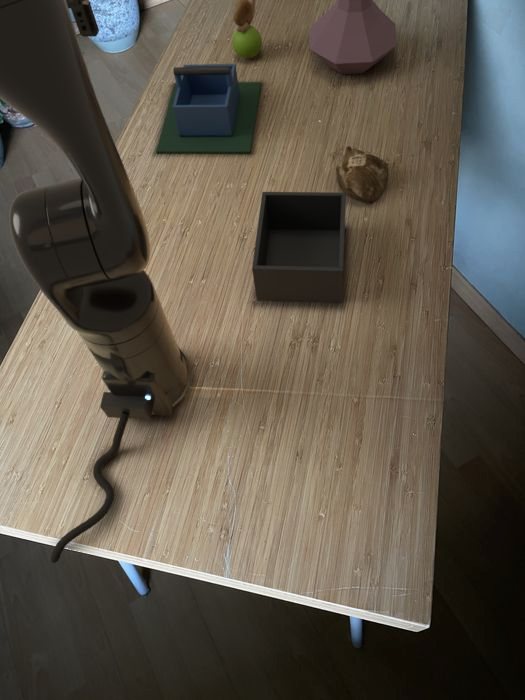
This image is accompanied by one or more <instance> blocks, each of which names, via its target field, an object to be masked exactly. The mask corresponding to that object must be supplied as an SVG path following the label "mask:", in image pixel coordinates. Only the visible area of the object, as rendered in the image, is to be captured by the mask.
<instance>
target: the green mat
mask: <svg viewBox="0 0 525 700" xmlns="http://www.w3.org/2000/svg"><path fill="white" fill-rule="evenodd" d="M238 86H239V93H240V96H239V101H238V107H237V113H236V118H235V124H234V129H233V135H232V137H180V135H179V131H178V127H177V123H176V119H175V115H174V111H173V104H174V100H175V96H176V92H177V88H178V87H177V85H176V82H175V83H173V86H172V91H171V95H170V97H169V101H168V106H167V109H166V110H167V111H166V113H165V116H164V121H163V124H162V128H161V131H160V135H159V139H158V143H157V147H156V151H155V153H156V154H158V155H161V154H162V155H167V154H168V155H171V154H172V155H173V154H174V155H176V154H177V155H179V154H180V155H185V154H186V155H187V154H188V155H192V154H193V155H196V154H197V155H199V154H201V155H208V154H209V155H219V154H220V155H221V154H222V155H248V154H249V155H250V154H252V148H253V140H254V139H253V138H254V133H255V127H256V120H257V114H258V107H259V100H260V95H261V87H262V82H261V81H248V82H247V81H245V82H244V81H243V82H239V81H238Z"/></svg>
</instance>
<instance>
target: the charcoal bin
mask: <svg viewBox="0 0 525 700" xmlns="http://www.w3.org/2000/svg"><path fill="white" fill-rule="evenodd" d="M346 203H347V194H346V193H345V192H336V191H335V192H325V191H323V192H321V191H319V192H317V191H262V192H261V200H260V207H259V214H258V222H257V229H256V238H255V245H254V250H253V251H254V252H253V260H252V266H251V271H252V277H253V282H254V289H255V296H256V300H257V302H258V301H261V302H287V303H288V302H290V303H291V302H292V303H293V302H294V303H323V304H325V303H326V304H342V300H343V285H344V284H343V281H344V263H345V262H344V260H345V235H346V233H345V232H346V208H347V206H346V205H347V204H346Z"/></svg>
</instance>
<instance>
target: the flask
mask: <svg viewBox="0 0 525 700" xmlns="http://www.w3.org/2000/svg"><path fill="white" fill-rule="evenodd" d="M397 46H398V37H397V28H396V23H395V22H394V21H393V20H392V19H391V18H390V17H389V16H388V15H387V14H386V13H384V11H383V10H381V8H379V6H378V5H377V3H375V1H374V0H336V1H335V2H334V3H333V5H332V6H331V7H330V8H329V9H328V10H327V11H326V13H324V14H323V15H322V16H321V17H320V18H319V19H317V21H316V22H314V24H312V26H311V27H309V47H308V50H309V51H310V52H312V54H313V55H315V57H317V58H318V59H319V60H320V61H322V62H323V63H324V64H325V65H326V66H327V67H329V68H331V69H332V70H334V71H336V72H338V73H339V74H341V75H353V74H354V75H355V74H363V73H365V72H366V71H368V70H369V69H370V68H372V67H373V66H375V65H376V64H378V63H379V62H380V61H381V60H382V59H383V58H384V57H385V56H387V55H388V54H389V53H390V52H391V51H392V50H394V48H396V47H397Z"/></svg>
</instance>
